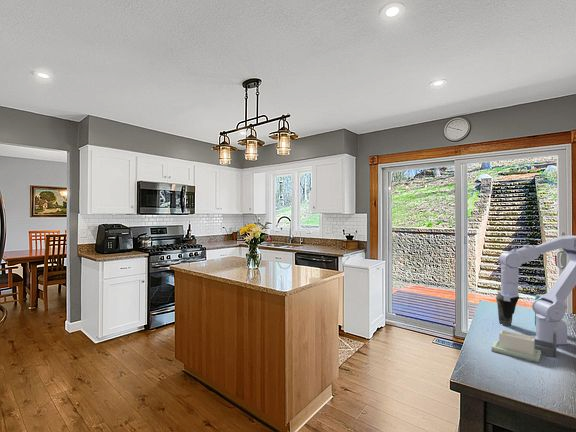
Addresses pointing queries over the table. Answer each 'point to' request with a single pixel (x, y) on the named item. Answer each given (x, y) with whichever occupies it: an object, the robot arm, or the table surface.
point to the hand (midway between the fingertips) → (509, 315)
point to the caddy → (517, 342)
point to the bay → (547, 345)
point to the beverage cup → (500, 313)
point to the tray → (515, 354)
